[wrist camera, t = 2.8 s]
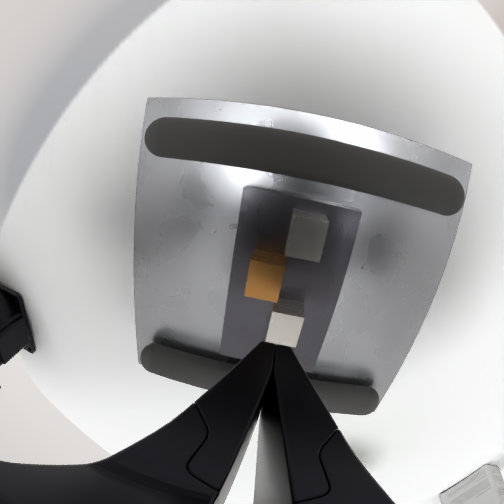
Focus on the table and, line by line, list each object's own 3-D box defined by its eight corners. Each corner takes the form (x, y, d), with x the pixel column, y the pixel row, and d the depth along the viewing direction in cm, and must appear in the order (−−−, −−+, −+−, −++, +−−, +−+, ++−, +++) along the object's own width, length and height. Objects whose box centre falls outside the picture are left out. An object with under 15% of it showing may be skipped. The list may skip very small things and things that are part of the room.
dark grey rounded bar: (153, 155, 11) (134, 156, 10) (158, 117, 11) (139, 114, 9) (448, 215, 10) (466, 224, 9) (456, 179, 10) (475, 184, 8)
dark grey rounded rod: (148, 355, 15) (136, 373, 13) (147, 333, 14) (133, 351, 13) (369, 401, 14) (373, 421, 12) (381, 381, 13) (386, 402, 12)
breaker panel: (155, 340, 18) (123, 385, 13) (171, 104, 13) (122, 90, 9) (368, 383, 16) (379, 437, 12) (446, 161, 12) (498, 167, 7)
